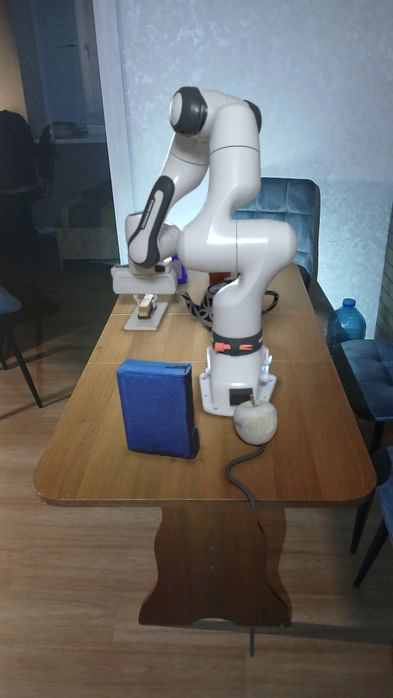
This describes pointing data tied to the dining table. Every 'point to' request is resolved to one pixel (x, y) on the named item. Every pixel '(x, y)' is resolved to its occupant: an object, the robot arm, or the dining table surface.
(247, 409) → the decorative object
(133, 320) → the tile
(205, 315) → the teapot
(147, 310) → the brush
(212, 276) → the mug
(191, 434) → the book
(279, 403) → the dining table surface
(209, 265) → the robot arm
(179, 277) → the bottle
